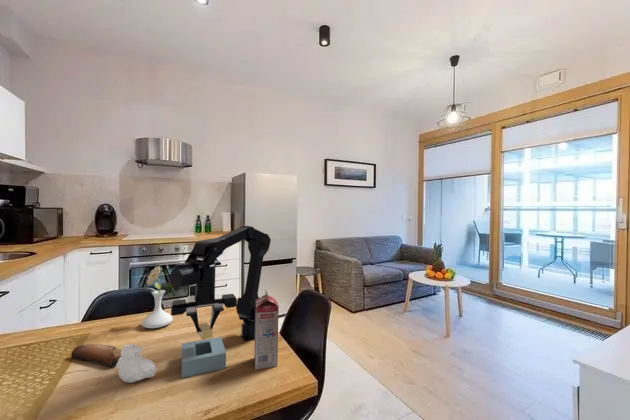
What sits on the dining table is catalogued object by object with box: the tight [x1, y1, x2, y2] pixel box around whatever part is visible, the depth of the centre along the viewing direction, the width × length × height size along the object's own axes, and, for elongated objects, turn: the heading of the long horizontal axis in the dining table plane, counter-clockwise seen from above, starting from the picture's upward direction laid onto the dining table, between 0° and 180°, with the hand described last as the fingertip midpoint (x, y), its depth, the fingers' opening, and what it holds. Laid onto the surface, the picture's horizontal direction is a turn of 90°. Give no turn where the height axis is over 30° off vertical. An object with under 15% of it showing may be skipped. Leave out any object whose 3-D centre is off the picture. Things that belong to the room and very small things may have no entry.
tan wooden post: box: [196, 322, 214, 340], centre depth 84 cm, size 3×6×2 cm, turn 39°
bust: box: [115, 343, 157, 384], centre depth 75 cm, size 12×8×11 cm
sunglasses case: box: [70, 343, 122, 368], centre depth 86 cm, size 18×7×7 cm, turn 73°
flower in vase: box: [140, 265, 174, 329], centre depth 111 cm, size 13×11×25 cm
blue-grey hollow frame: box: [181, 336, 227, 379], centre depth 84 cm, size 12×12×4 cm
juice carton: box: [253, 290, 279, 370], centre depth 85 cm, size 7×7×22 cm
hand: (204, 331), depth 84 cm, fingers closed on tan wooden post, 3 cm apart
